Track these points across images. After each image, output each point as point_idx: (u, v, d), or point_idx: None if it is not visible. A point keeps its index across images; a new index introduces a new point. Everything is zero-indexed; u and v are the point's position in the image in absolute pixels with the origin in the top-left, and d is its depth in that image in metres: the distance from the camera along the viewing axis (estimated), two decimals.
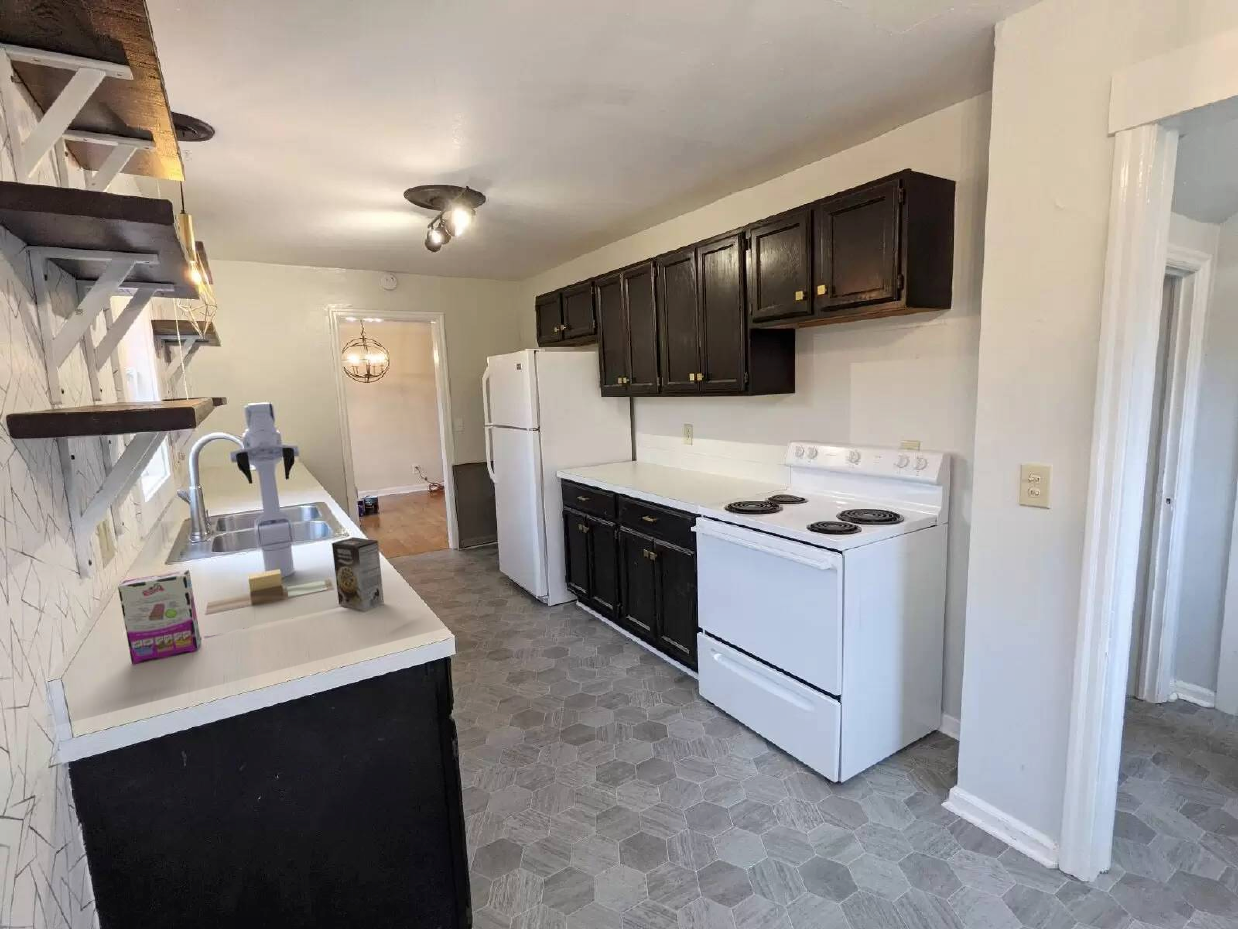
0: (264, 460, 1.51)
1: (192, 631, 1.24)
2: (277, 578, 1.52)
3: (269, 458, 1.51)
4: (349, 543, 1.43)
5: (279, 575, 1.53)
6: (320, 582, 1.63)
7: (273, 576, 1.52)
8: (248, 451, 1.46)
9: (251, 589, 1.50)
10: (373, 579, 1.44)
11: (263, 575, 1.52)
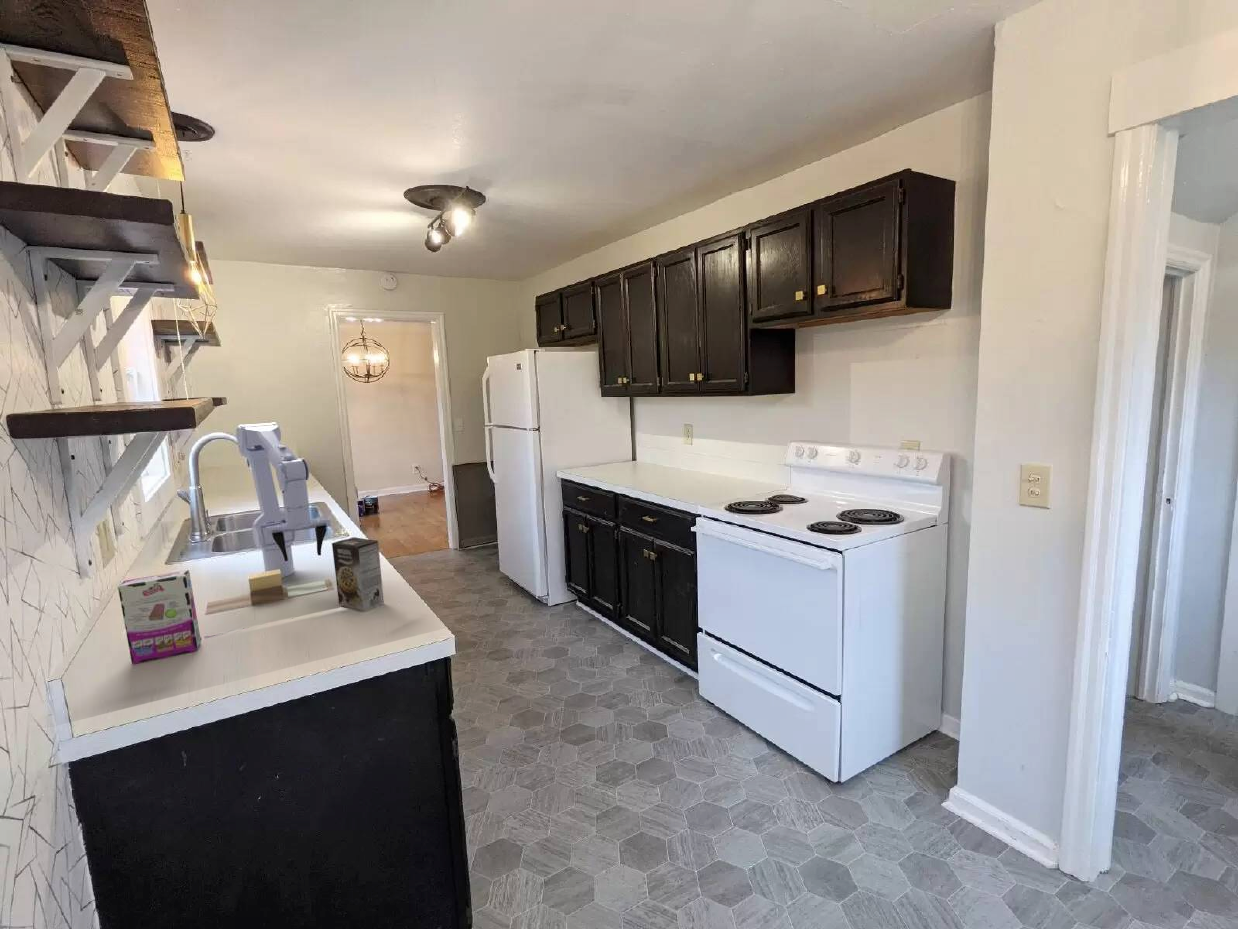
0: None
1: (192, 631, 1.24)
2: (277, 578, 1.52)
3: None
4: (349, 543, 1.43)
5: (279, 575, 1.53)
6: (320, 582, 1.63)
7: (273, 576, 1.52)
8: None
9: (251, 589, 1.50)
10: (373, 579, 1.44)
11: (263, 575, 1.52)
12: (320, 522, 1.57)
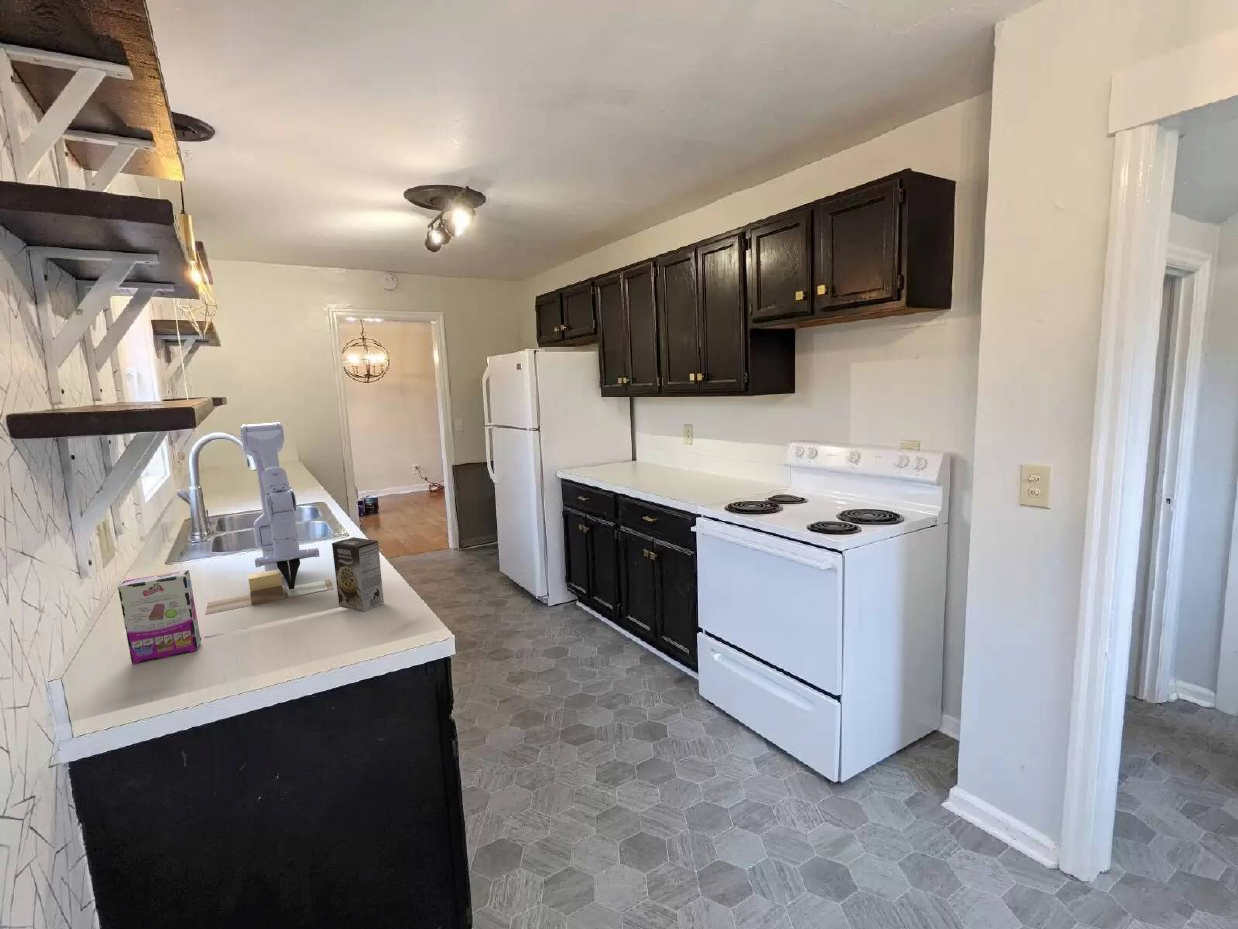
0: None
1: (192, 631, 1.24)
2: (277, 578, 1.52)
3: None
4: (349, 543, 1.43)
5: (279, 575, 1.53)
6: (320, 582, 1.63)
7: (273, 576, 1.52)
8: None
9: (251, 589, 1.50)
10: (373, 579, 1.44)
11: (263, 575, 1.52)
12: (309, 553, 1.56)
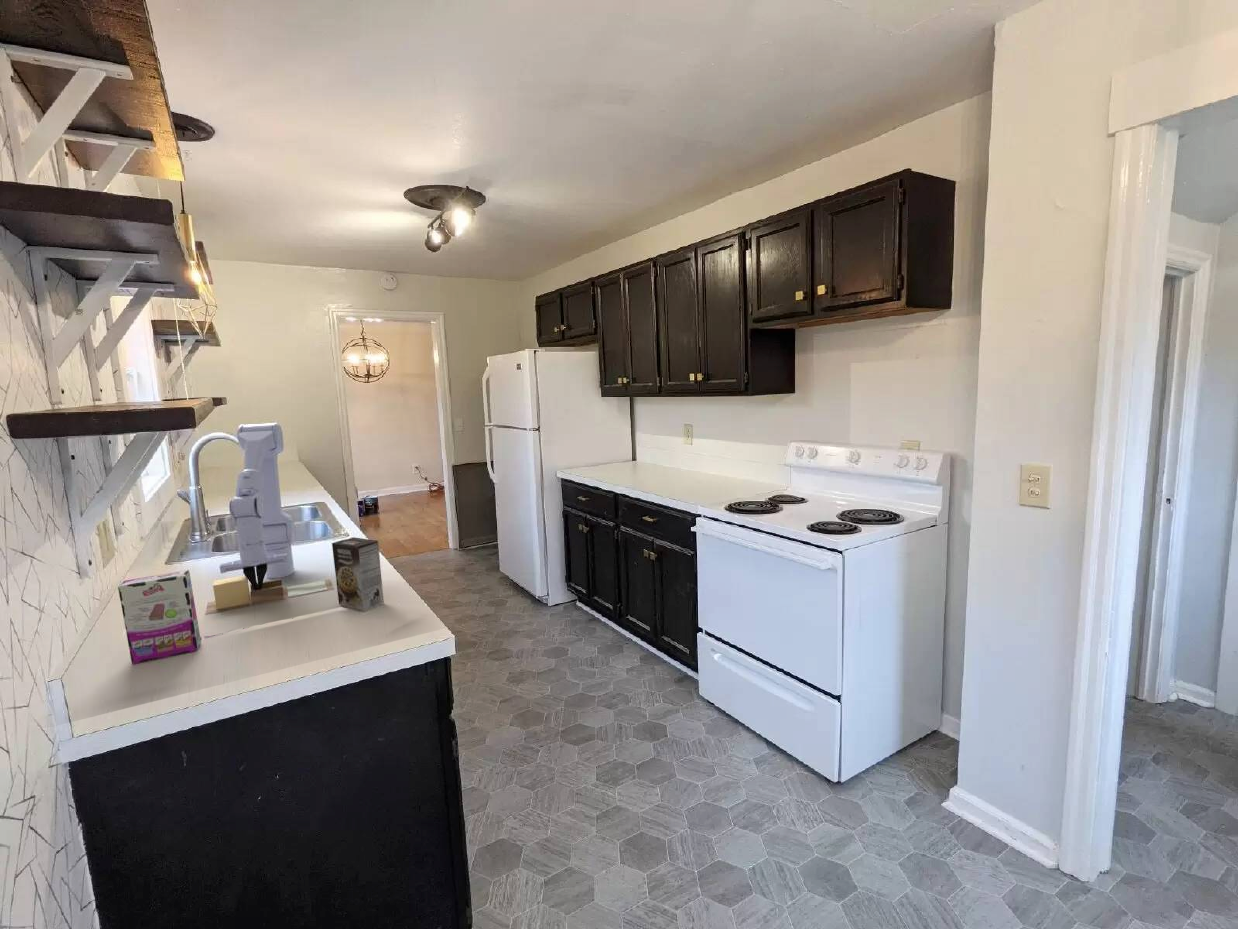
0: None
1: (192, 631, 1.24)
2: (243, 584, 1.49)
3: None
4: (349, 543, 1.43)
5: (245, 581, 1.49)
6: (320, 582, 1.63)
7: (239, 582, 1.48)
8: None
9: (216, 596, 1.46)
10: (373, 579, 1.44)
11: (229, 581, 1.48)
12: (276, 558, 1.53)
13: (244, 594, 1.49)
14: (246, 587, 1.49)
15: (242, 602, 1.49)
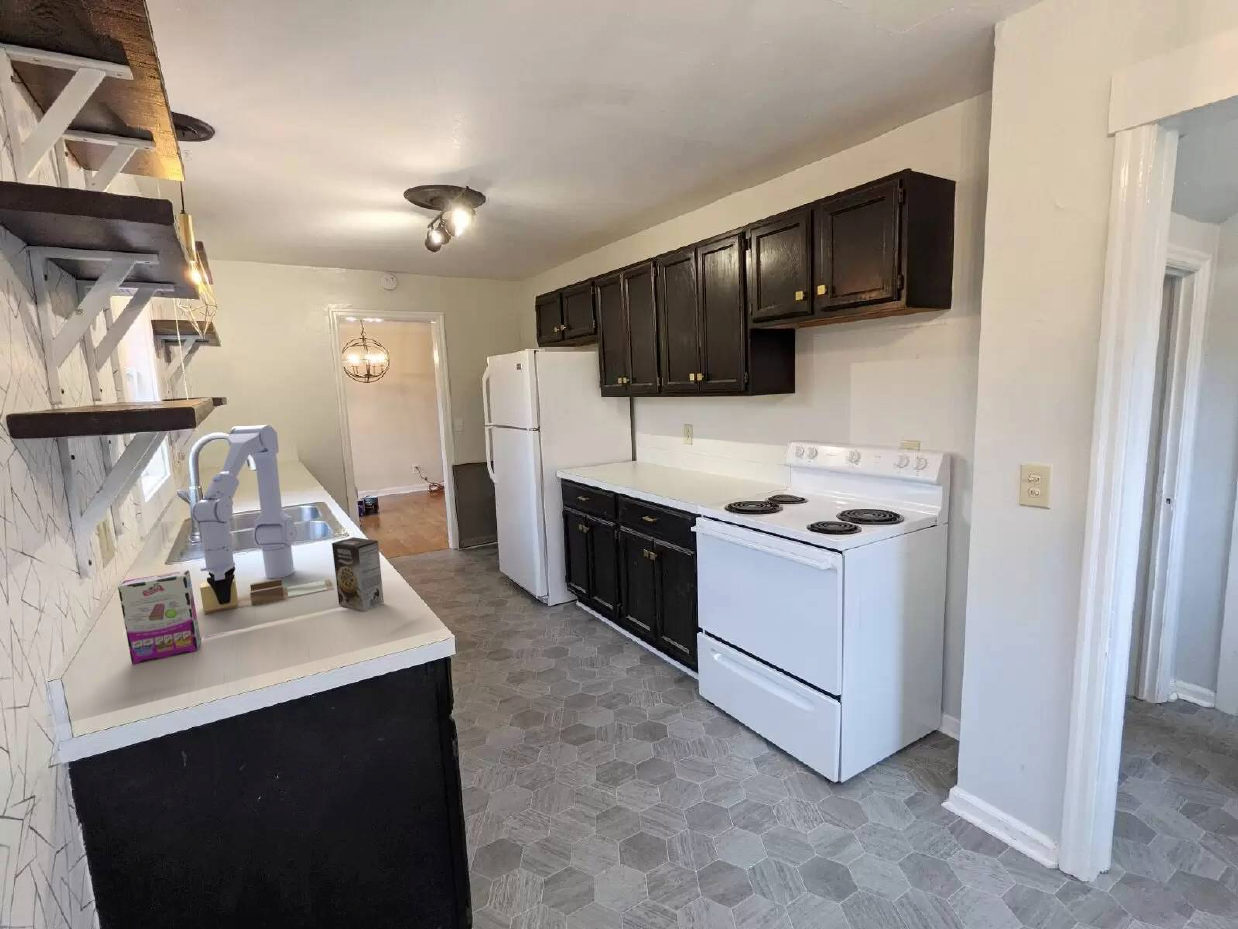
0: None
1: (192, 631, 1.24)
2: (231, 586, 1.47)
3: None
4: (349, 543, 1.43)
5: (233, 583, 1.48)
6: (320, 582, 1.63)
7: None
8: None
9: (203, 598, 1.45)
10: (373, 579, 1.44)
11: None
12: (212, 572, 1.43)
13: (231, 596, 1.48)
14: (234, 589, 1.48)
15: (229, 604, 1.48)
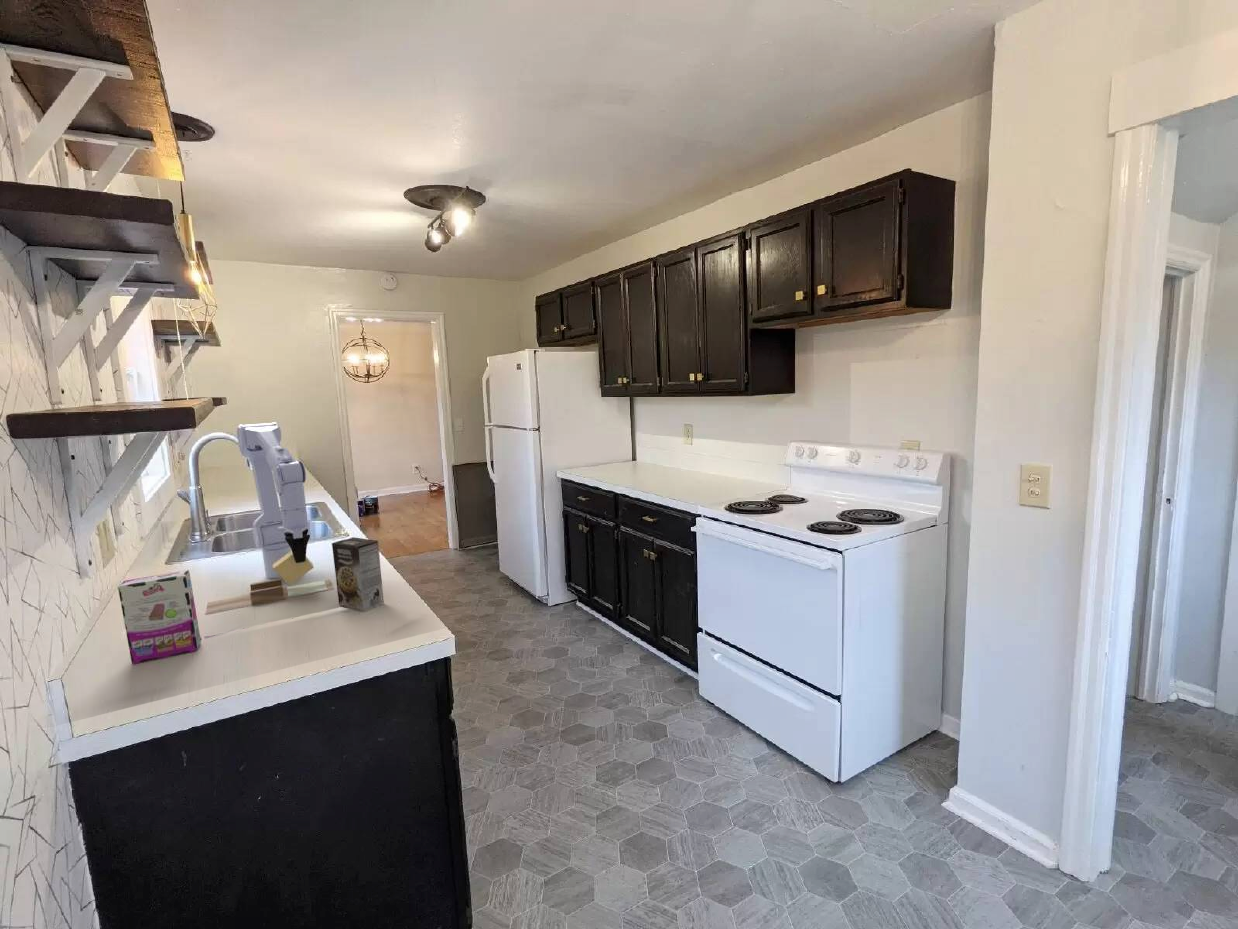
0: None
1: (192, 631, 1.24)
2: None
3: None
4: (349, 543, 1.43)
5: None
6: (320, 582, 1.63)
7: None
8: None
9: (281, 575, 1.53)
10: (373, 579, 1.44)
11: (284, 559, 1.54)
12: (290, 531, 1.51)
13: (304, 563, 1.55)
14: None
15: (307, 570, 1.56)
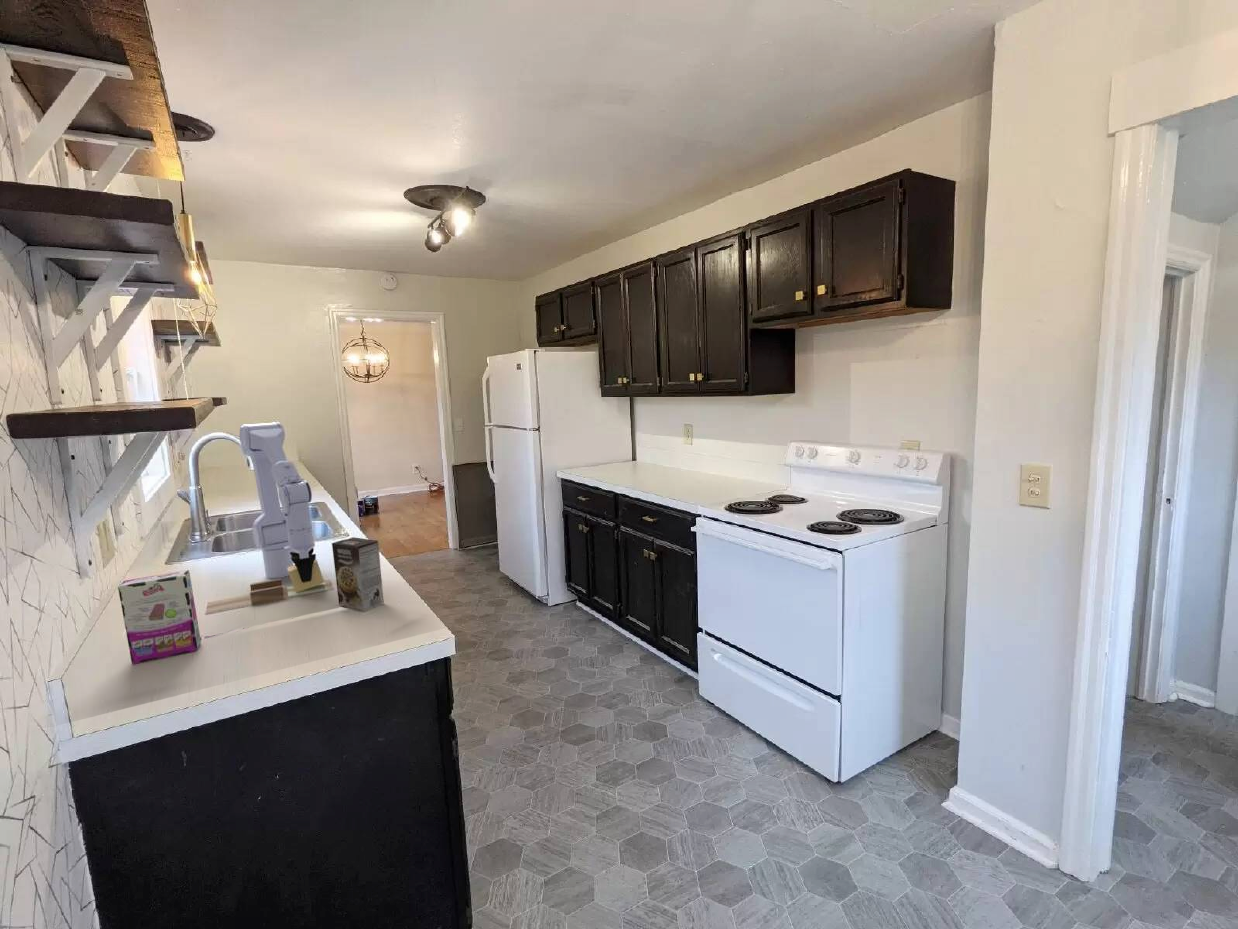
0: None
1: (192, 631, 1.24)
2: (315, 566, 1.57)
3: None
4: (349, 543, 1.43)
5: (316, 563, 1.57)
6: None
7: None
8: None
9: (292, 581, 1.54)
10: (373, 579, 1.44)
11: None
12: (296, 551, 1.52)
13: (317, 575, 1.57)
14: (318, 569, 1.57)
15: (317, 583, 1.57)
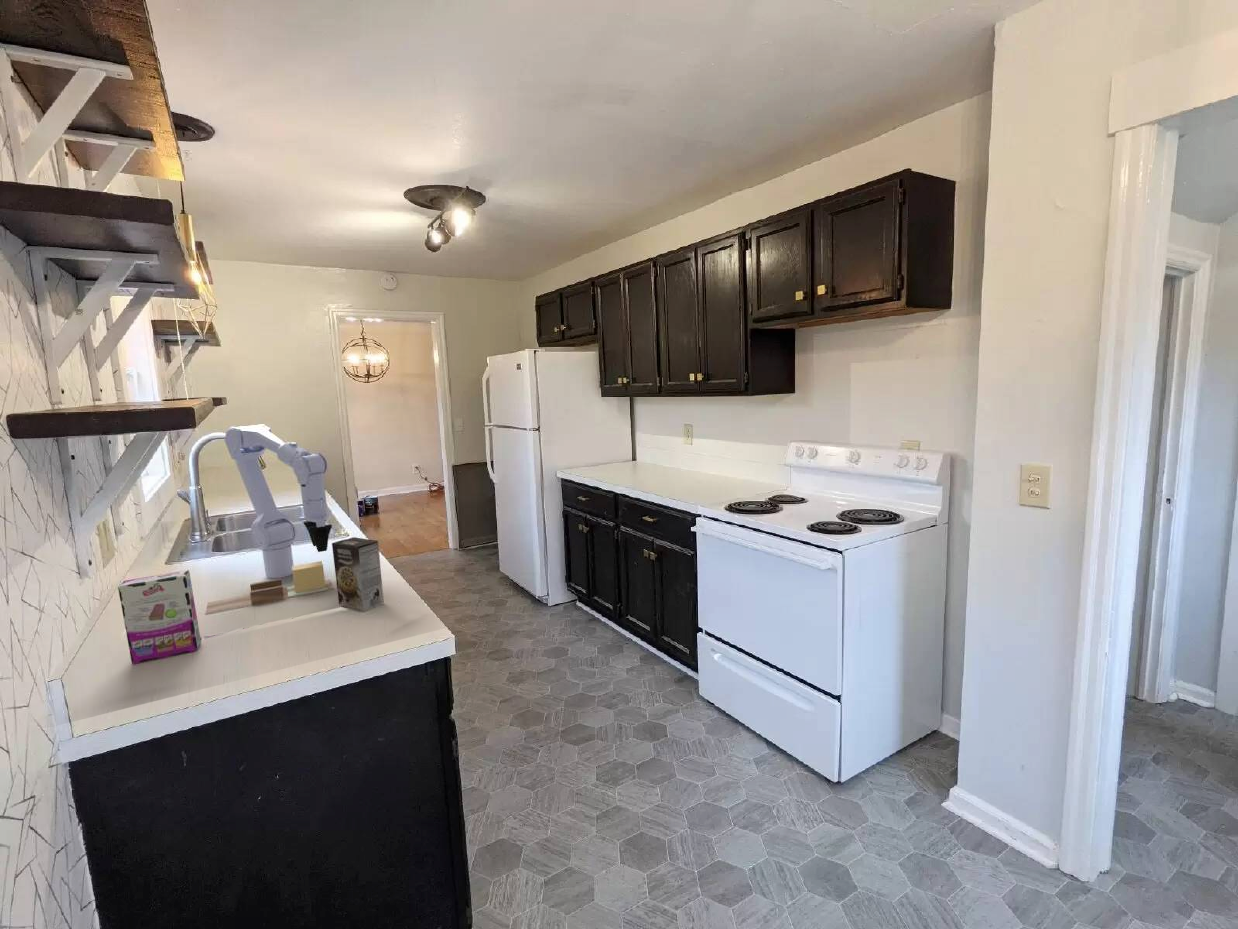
0: None
1: (192, 631, 1.24)
2: (319, 570, 1.57)
3: None
4: (349, 543, 1.43)
5: (321, 567, 1.58)
6: None
7: (316, 568, 1.57)
8: None
9: (295, 580, 1.55)
10: (373, 579, 1.44)
11: (306, 567, 1.57)
12: (313, 520, 1.57)
13: (320, 579, 1.58)
14: (322, 572, 1.58)
15: (318, 586, 1.58)
